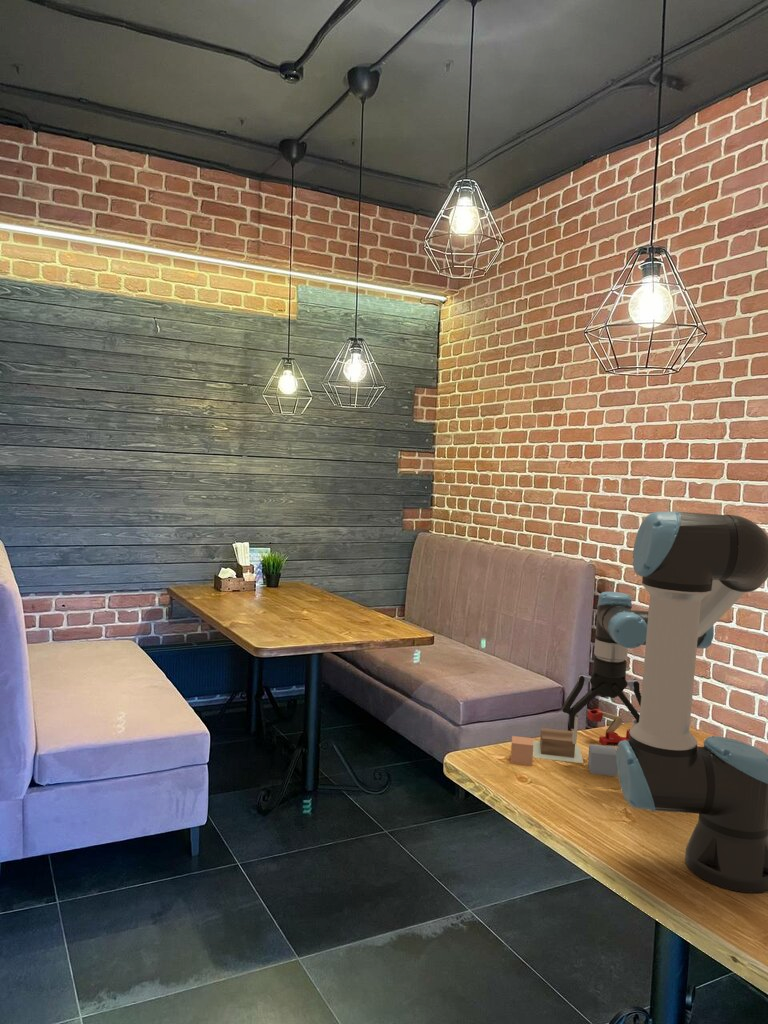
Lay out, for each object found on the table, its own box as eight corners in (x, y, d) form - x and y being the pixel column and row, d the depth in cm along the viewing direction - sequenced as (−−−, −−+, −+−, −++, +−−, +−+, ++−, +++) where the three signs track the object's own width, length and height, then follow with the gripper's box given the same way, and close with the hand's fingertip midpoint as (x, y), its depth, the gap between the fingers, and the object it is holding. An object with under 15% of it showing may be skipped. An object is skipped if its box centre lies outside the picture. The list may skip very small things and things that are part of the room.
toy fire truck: (640, 750, 198) (643, 714, 197) (589, 748, 197) (591, 712, 196) (635, 745, 201) (637, 710, 201) (584, 744, 200) (587, 708, 200)
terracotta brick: (531, 770, 180) (533, 745, 180) (510, 767, 181) (512, 743, 181) (531, 762, 185) (532, 738, 185) (510, 759, 186) (512, 735, 186)
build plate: (583, 767, 184) (583, 763, 184) (533, 761, 186) (533, 757, 186) (579, 749, 196) (579, 746, 196) (531, 744, 198) (532, 740, 197)
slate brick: (616, 781, 177) (618, 755, 176) (590, 777, 178) (591, 752, 177) (613, 771, 183) (614, 746, 182) (587, 768, 184) (589, 744, 183)
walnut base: (574, 757, 187) (575, 741, 187) (541, 753, 188) (542, 738, 188) (571, 746, 195) (572, 731, 195) (540, 742, 196) (541, 727, 196)
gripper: (662, 658, 180) (655, 745, 182) (555, 648, 184) (549, 733, 186) (668, 667, 173) (661, 757, 174) (557, 656, 177) (550, 744, 179)
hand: (603, 745), depth 180 cm, fingers open, 13 cm apart
